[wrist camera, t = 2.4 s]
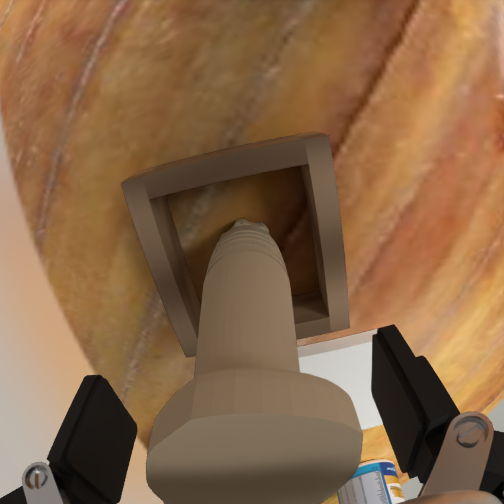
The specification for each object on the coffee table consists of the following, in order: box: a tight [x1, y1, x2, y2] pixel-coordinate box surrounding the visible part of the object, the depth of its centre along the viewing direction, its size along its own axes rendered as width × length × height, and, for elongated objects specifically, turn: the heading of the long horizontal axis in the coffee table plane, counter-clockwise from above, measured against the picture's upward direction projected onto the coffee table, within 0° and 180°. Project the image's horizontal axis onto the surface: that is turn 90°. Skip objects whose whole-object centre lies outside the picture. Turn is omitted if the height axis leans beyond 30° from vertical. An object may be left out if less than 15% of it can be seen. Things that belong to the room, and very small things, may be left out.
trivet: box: [297, 328, 383, 430], centre depth 25 cm, size 12×12×1 cm
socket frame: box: [121, 132, 350, 357], centre depth 18 cm, size 11×10×3 cm
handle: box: [146, 218, 363, 504], centre depth 13 cm, size 5×6×15 cm
